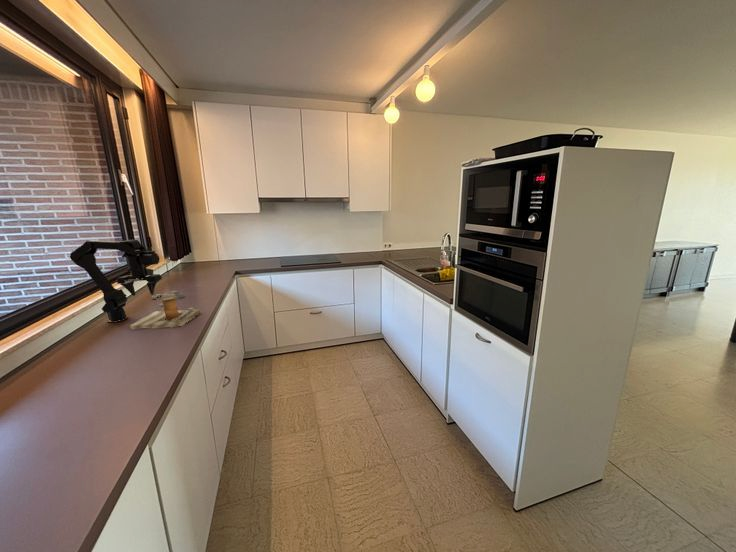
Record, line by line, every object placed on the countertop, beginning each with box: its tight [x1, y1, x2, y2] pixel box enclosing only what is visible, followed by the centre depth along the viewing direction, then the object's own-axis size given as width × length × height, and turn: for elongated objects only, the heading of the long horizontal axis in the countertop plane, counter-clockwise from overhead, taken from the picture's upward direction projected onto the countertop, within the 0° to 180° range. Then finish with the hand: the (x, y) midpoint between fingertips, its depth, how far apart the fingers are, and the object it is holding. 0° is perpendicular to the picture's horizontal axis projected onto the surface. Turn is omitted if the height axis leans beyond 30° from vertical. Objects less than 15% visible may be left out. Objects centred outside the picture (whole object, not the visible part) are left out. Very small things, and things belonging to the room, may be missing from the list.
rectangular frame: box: [129, 309, 201, 330], centre depth 154 cm, size 24×18×2 cm
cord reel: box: [160, 293, 179, 321], centre depth 153 cm, size 6×6×13 cm
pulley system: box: [151, 290, 184, 307], centre depth 188 cm, size 27×5×15 cm
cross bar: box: [172, 307, 195, 323], centre depth 154 cm, size 2×16×2 cm, turn 1°
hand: (143, 295), depth 155 cm, fingers open, 9 cm apart
